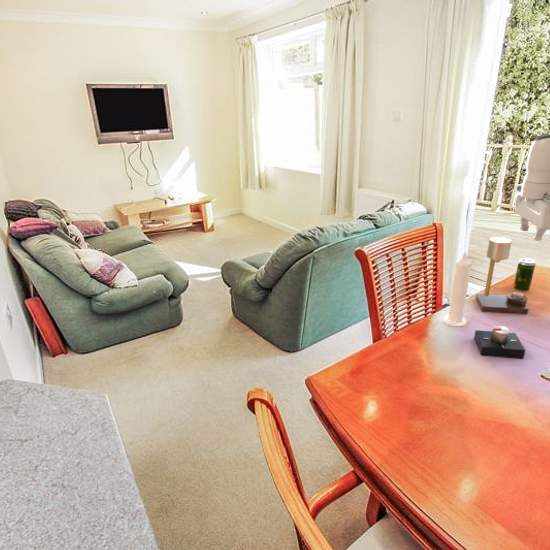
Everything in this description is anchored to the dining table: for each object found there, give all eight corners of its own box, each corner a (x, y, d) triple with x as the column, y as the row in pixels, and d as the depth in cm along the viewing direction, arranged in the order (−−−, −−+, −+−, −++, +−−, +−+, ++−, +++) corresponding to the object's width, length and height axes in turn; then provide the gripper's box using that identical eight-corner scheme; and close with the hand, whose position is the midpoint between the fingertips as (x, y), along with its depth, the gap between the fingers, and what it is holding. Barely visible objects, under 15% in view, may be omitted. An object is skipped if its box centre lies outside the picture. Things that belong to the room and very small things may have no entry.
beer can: (528, 287, 145) (534, 258, 140) (530, 293, 141) (537, 263, 136) (512, 285, 147) (518, 257, 142) (513, 291, 143) (519, 262, 138)
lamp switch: (520, 296, 132) (521, 291, 131) (523, 300, 129) (524, 295, 128) (511, 295, 133) (512, 291, 132) (513, 299, 130) (514, 295, 129)
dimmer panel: (513, 341, 114) (515, 332, 113) (523, 359, 106) (525, 349, 105) (474, 338, 117) (475, 329, 116) (480, 355, 109) (482, 346, 108)
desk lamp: (497, 292, 135) (508, 236, 126) (502, 300, 129) (514, 243, 121) (478, 291, 137) (487, 236, 128) (482, 299, 131) (492, 242, 122)
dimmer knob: (503, 335, 112) (505, 324, 111) (510, 343, 108) (513, 332, 107) (488, 335, 113) (490, 324, 111) (495, 343, 109) (497, 332, 107)
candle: (455, 329, 122) (466, 258, 112) (438, 319, 128) (447, 251, 118) (471, 323, 125) (483, 253, 115) (454, 314, 131) (463, 247, 121)
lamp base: (520, 301, 136) (522, 291, 134) (529, 314, 127) (532, 304, 126) (475, 298, 140) (477, 289, 138) (481, 312, 131) (483, 301, 129)
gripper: (569, 198, 101) (558, 246, 107) (536, 183, 119) (528, 225, 125) (543, 198, 102) (533, 246, 108) (514, 184, 121) (507, 225, 126)
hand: (530, 235), depth 117 cm, fingers open, 8 cm apart
